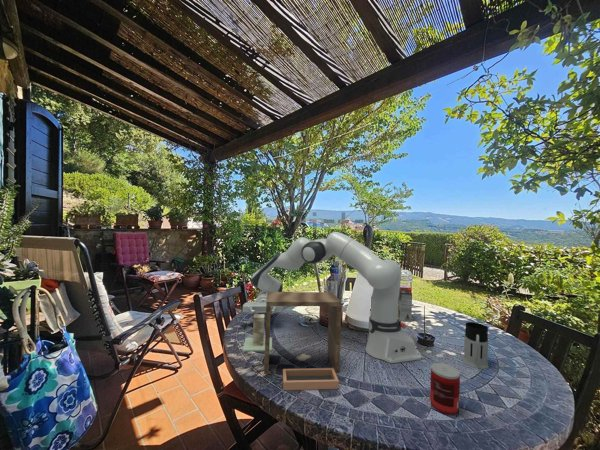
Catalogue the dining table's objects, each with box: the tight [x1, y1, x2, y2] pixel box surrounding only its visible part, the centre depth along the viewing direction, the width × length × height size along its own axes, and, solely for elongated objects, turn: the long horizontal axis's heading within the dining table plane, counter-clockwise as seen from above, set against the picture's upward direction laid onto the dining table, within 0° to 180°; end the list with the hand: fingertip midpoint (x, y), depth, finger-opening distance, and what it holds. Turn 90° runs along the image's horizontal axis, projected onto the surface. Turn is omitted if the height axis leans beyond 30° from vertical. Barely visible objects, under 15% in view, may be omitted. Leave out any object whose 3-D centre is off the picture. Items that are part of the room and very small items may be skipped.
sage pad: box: [242, 337, 273, 352], centre depth 116 cm, size 12×12×1 cm
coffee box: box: [397, 289, 413, 323], centre depth 156 cm, size 9×6×16 cm
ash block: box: [252, 313, 266, 346], centre depth 116 cm, size 4×4×12 cm
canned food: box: [429, 362, 461, 415], centre depth 80 cm, size 8×8×11 cm
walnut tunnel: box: [263, 291, 342, 375], centre depth 102 cm, size 27×14×26 cm, turn 95°
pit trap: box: [282, 367, 340, 391], centre depth 90 cm, size 18×8×2 cm, turn 95°
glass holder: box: [462, 321, 490, 370], centre depth 105 cm, size 9×14×15 cm, turn 149°
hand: (262, 312), depth 128 cm, fingers open, 8 cm apart
